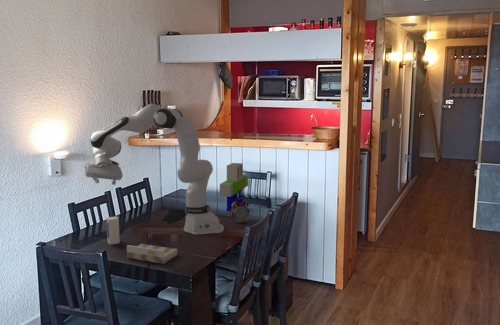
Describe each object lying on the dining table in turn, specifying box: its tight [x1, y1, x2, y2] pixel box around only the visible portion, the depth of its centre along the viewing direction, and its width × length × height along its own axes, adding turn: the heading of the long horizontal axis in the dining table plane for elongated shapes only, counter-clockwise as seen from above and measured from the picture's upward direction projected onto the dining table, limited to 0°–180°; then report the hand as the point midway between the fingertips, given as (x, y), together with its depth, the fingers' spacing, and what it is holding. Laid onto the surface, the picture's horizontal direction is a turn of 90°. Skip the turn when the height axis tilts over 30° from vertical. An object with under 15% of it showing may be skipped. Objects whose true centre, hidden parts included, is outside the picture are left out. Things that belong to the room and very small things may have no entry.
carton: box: [105, 216, 121, 246], centre depth 244 cm, size 5×5×13 cm
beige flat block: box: [126, 243, 178, 264], centre depth 224 cm, size 20×12×6 cm, turn 69°
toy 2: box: [219, 162, 249, 213], centre depth 306 cm, size 34×7×30 cm, turn 161°
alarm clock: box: [229, 197, 250, 225], centre depth 279 cm, size 11×5×15 cm, turn 115°
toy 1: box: [161, 208, 186, 225], centre depth 293 cm, size 12×1×30 cm
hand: (105, 183), depth 261 cm, fingers open, 8 cm apart
